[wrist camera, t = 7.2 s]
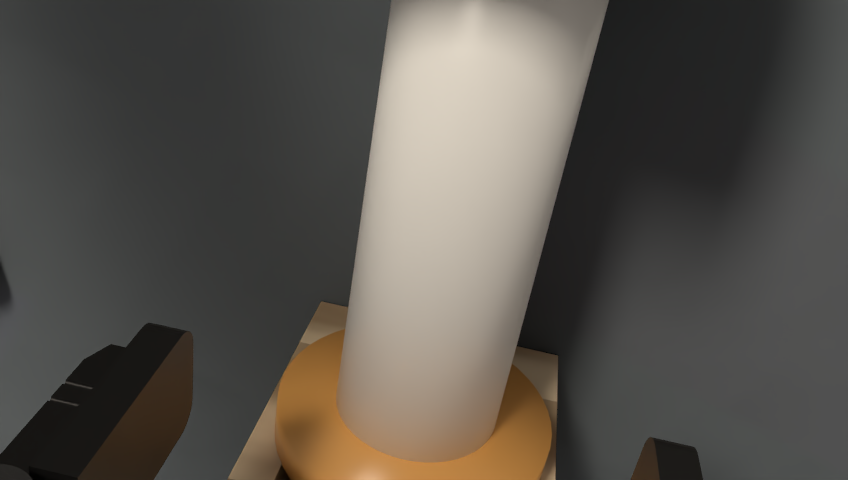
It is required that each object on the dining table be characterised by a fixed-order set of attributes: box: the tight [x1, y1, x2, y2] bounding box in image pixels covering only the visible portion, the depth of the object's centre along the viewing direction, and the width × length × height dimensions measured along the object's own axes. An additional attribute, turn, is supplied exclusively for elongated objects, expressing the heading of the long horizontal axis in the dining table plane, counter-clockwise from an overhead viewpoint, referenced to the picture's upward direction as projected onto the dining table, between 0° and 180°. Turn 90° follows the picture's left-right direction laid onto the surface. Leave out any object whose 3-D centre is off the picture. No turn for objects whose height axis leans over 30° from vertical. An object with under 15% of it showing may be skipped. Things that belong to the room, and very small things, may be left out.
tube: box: [275, 0, 609, 480], centre depth 17 cm, size 18×7×7 cm, turn 171°
